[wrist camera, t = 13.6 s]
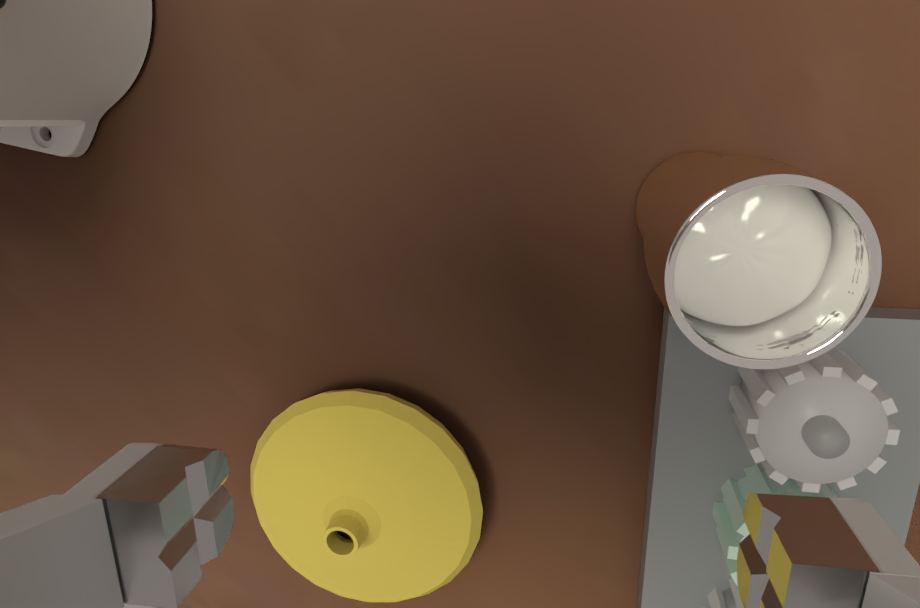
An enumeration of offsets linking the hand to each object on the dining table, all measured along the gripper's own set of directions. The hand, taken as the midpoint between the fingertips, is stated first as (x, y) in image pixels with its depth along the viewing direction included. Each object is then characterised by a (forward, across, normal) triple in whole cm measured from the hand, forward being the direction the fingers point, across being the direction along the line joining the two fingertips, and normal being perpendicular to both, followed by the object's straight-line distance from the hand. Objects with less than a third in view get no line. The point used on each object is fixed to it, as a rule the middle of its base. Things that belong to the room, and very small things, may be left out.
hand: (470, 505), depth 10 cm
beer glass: (+28, -8, 0) cm, 29 cm away
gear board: (+27, -14, +17) cm, 35 cm away
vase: (+28, +10, +18) cm, 35 cm away
